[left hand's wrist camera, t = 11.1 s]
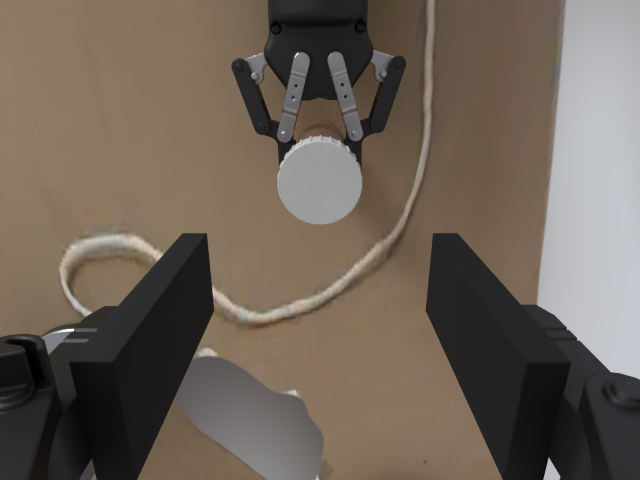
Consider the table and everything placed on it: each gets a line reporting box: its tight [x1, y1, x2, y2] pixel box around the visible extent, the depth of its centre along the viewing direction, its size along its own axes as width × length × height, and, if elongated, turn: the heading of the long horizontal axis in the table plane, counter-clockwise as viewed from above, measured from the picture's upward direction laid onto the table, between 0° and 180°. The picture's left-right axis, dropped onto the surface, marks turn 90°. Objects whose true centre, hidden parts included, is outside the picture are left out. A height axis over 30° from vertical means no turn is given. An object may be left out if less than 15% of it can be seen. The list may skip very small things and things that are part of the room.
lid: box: [277, 135, 363, 225], centre depth 27 cm, size 5×5×2 cm
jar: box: [297, 120, 343, 143], centre depth 34 cm, size 4×4×18 cm
